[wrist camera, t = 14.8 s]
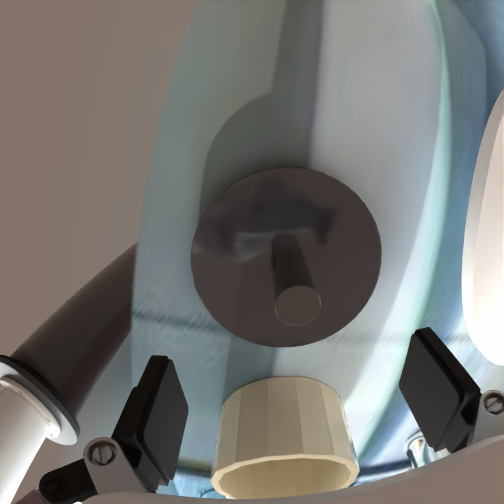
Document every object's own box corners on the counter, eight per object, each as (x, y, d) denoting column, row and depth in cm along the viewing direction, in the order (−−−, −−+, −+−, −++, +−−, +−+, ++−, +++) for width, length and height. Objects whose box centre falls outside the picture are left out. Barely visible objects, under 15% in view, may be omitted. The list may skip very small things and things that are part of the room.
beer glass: (413, 428, 27) (447, 516, 13) (450, 420, 27) (487, 496, 13) (391, 455, 30) (415, 535, 16) (427, 447, 30) (454, 518, 16)
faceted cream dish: (230, 447, 28) (224, 506, 20) (211, 378, 24) (196, 455, 16) (335, 439, 27) (346, 498, 19) (347, 368, 23) (372, 442, 15)
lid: (210, 342, 23) (196, 397, 17) (181, 177, 18) (147, 188, 13) (368, 329, 22) (394, 378, 16) (376, 163, 18) (421, 170, 12)
